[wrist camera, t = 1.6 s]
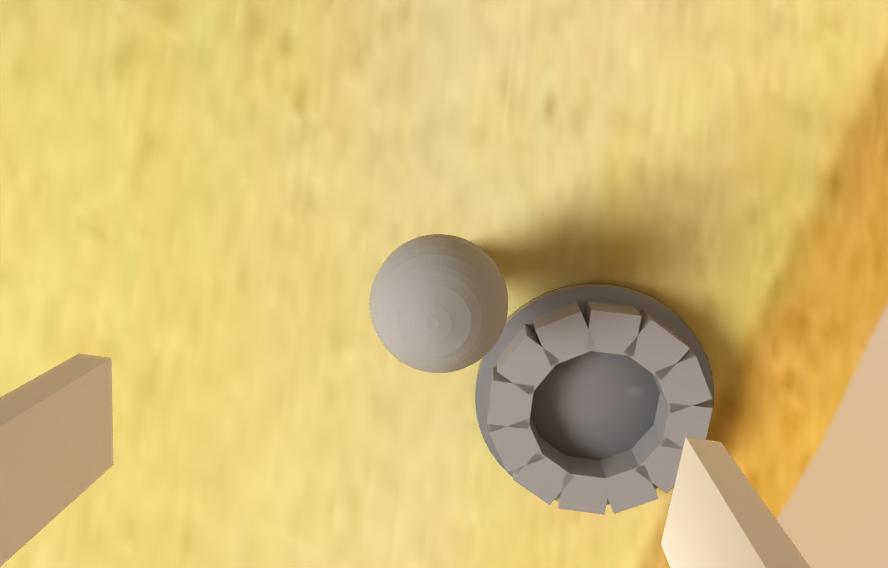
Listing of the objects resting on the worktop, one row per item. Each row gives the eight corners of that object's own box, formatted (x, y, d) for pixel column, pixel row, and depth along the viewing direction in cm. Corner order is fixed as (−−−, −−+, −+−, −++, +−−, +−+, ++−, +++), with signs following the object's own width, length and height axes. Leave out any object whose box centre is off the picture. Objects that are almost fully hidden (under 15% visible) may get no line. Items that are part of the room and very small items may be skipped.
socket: (490, 269, 32) (489, 281, 30) (731, 298, 32) (751, 313, 29) (463, 481, 35) (461, 508, 33) (684, 510, 35) (698, 540, 32)
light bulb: (420, 330, 33) (391, 414, 24) (381, 233, 32) (333, 279, 23) (519, 296, 33) (531, 368, 23) (482, 195, 32) (478, 226, 22)
